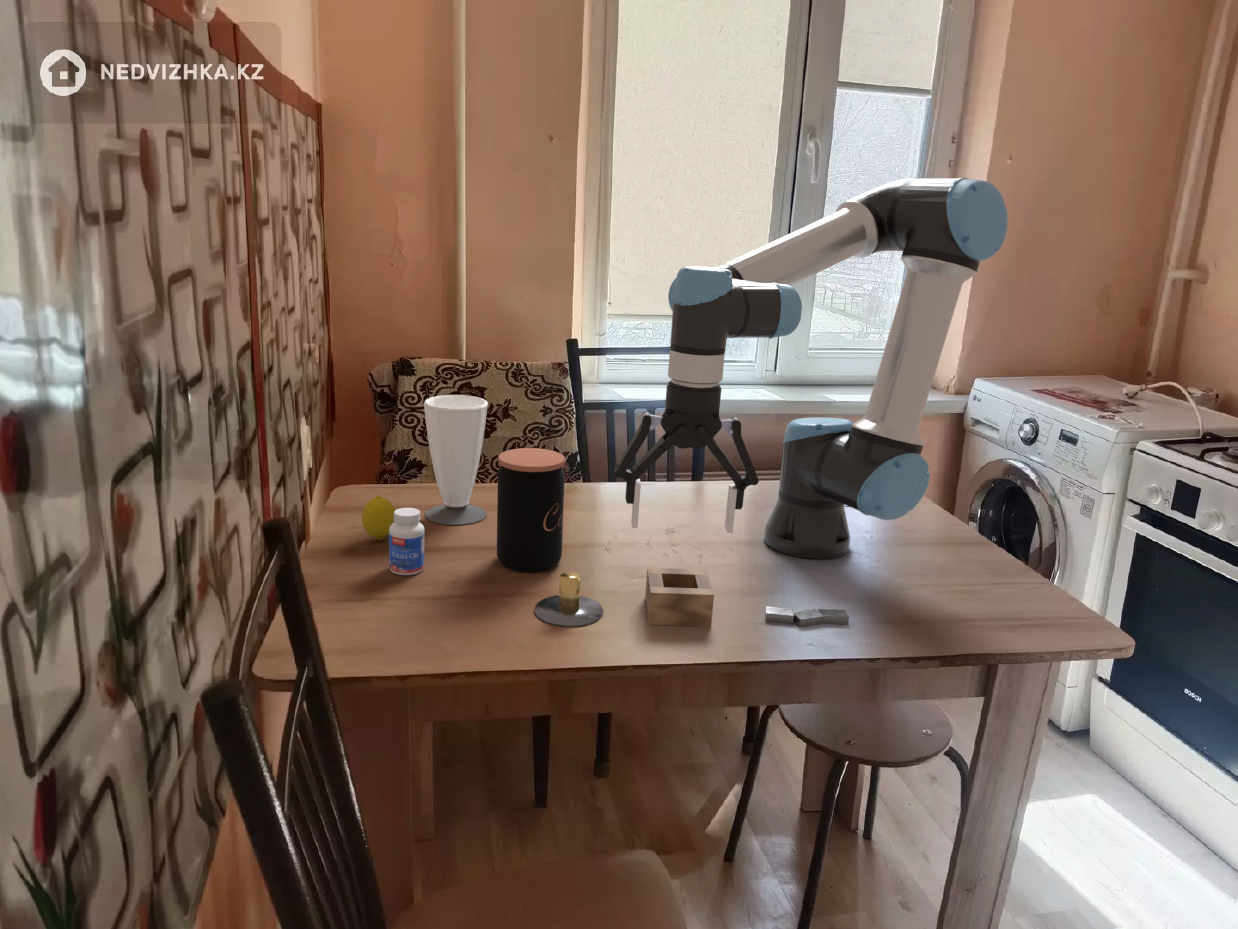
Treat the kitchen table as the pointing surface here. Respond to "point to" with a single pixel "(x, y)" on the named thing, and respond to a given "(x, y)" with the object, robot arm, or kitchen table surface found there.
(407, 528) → the pill bottle
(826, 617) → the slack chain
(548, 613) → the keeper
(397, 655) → the kitchen table surface
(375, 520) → the lemon
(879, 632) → the kitchen table surface
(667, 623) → the square wooden ring block
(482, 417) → the cup
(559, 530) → the coffee jar
